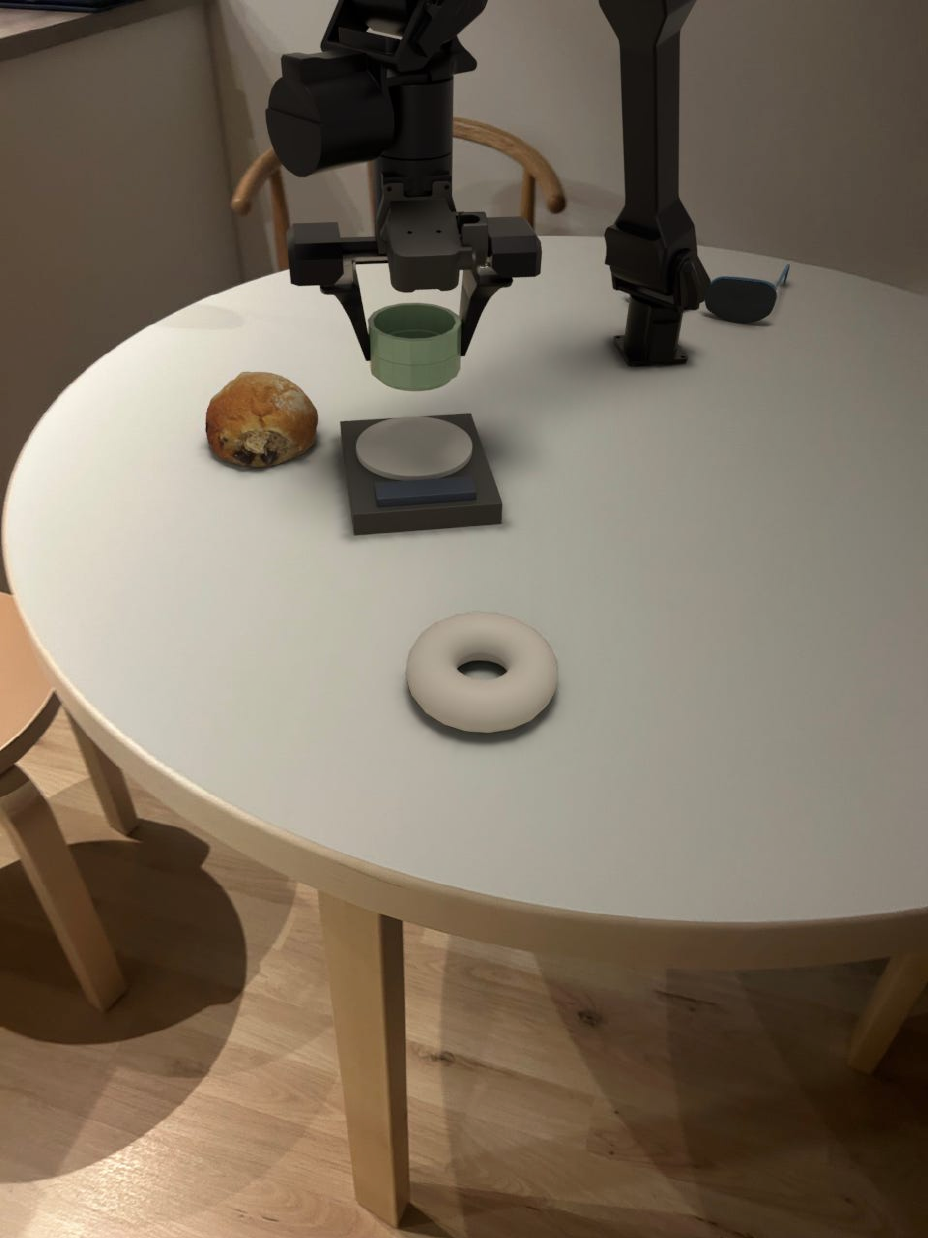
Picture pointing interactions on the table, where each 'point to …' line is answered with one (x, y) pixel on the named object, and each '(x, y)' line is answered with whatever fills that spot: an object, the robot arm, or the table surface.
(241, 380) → the bread roll
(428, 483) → the scale
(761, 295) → the sunglasses
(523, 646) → the donut
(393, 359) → the bowl
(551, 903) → the table surface
